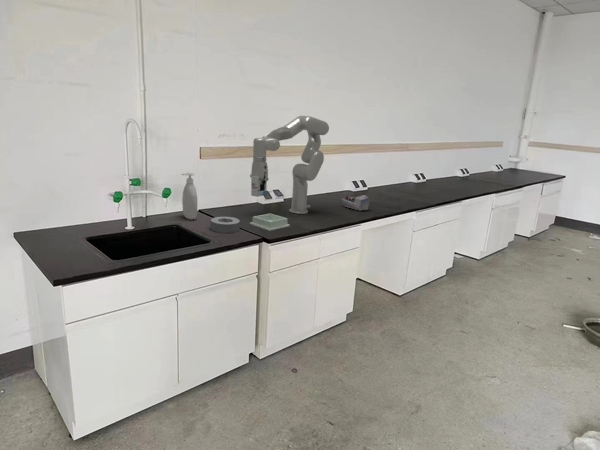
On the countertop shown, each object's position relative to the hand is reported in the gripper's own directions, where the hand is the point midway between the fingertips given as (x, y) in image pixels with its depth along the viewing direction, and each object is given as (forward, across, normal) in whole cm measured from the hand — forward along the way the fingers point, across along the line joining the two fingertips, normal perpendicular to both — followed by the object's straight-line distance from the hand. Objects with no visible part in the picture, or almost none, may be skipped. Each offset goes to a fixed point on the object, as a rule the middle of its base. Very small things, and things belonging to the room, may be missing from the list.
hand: (258, 189), depth 246 cm
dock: (+17, -18, +8) cm, 26 cm away
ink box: (+4, 0, 0) cm, 4 cm away
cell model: (+19, -22, -74) cm, 80 cm away
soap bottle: (+16, +20, +36) cm, 44 cm away
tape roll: (+17, -9, +33) cm, 38 cm away
